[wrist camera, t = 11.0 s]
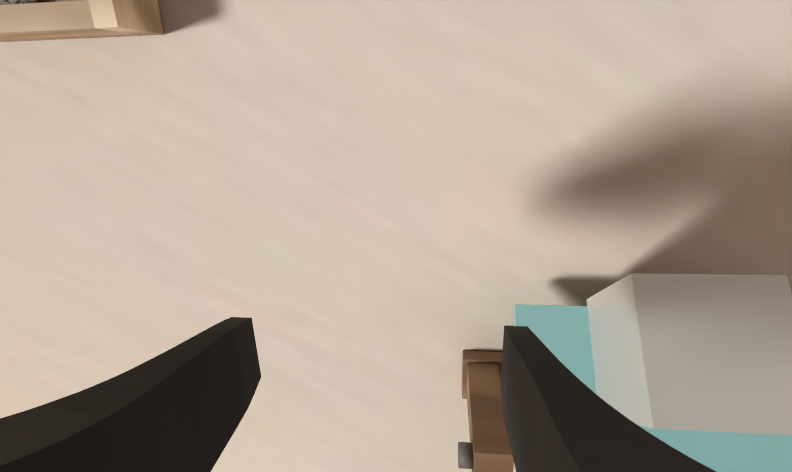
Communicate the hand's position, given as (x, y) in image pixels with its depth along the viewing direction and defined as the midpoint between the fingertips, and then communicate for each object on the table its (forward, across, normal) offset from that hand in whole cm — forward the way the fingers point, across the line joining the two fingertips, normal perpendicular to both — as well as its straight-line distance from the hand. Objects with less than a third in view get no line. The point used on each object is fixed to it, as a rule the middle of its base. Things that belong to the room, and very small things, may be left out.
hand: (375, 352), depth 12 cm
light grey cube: (+5, -11, +3) cm, 12 cm away
